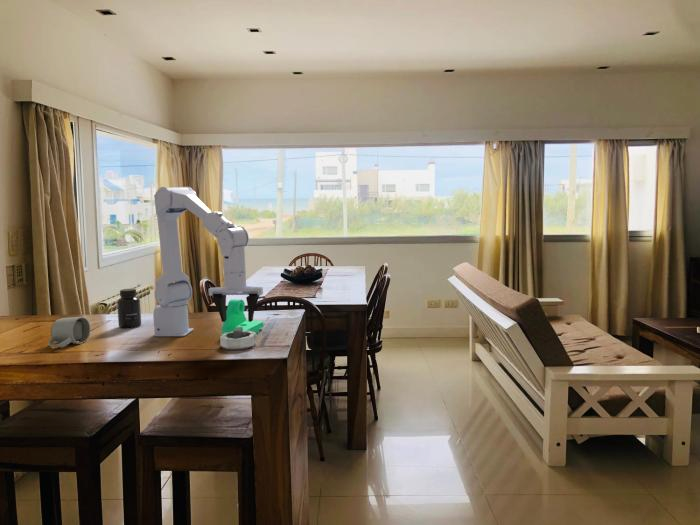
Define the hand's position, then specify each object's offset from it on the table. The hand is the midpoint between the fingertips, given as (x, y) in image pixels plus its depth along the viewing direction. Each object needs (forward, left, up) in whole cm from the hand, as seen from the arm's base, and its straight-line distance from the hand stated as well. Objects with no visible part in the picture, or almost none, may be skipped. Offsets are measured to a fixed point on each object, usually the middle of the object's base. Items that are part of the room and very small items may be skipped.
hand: (237, 321), depth 150 cm
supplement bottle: (-42, +22, -7) cm, 48 cm away
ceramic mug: (-50, +2, -7) cm, 51 cm away
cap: (0, 0, -6) cm, 6 cm away
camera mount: (-2, +13, -7) cm, 15 cm away
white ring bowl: (0, 0, -7) cm, 7 cm away
